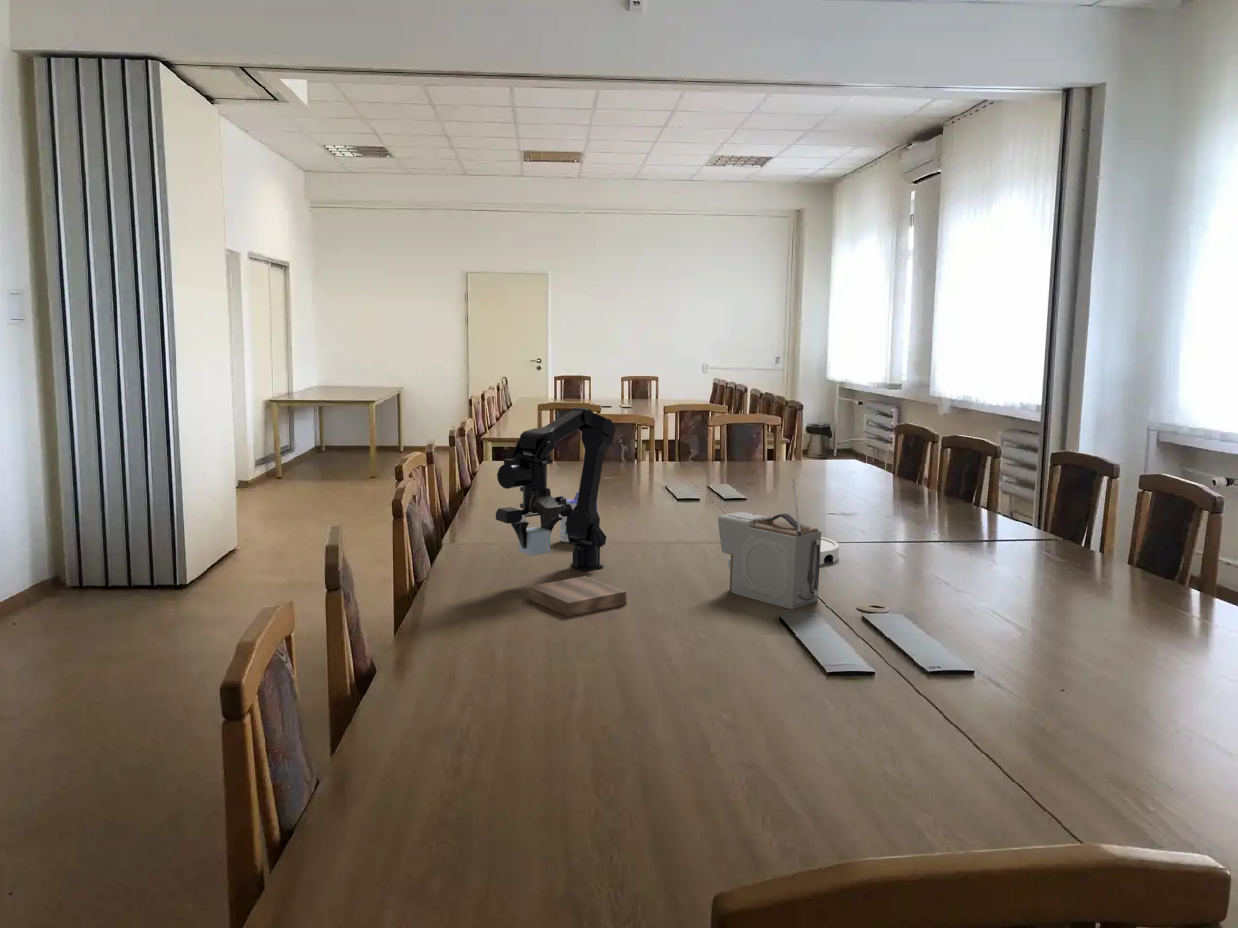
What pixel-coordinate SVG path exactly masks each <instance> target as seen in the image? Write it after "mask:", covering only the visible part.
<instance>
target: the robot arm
mask: <svg viewBox="0 0 1238 928" xmlns="http://www.w3.org/2000/svg"><path fill="white" fill-rule="evenodd" d="M576 430H578V431H579V432H581V435H580V436H581V437H580V439H581V442H582V445H583V447H584V457H583V463H582V464H583V465H582V470H581V477H580V482H579V483H580V484H579V488H578V489H579V490H578V493H579V494H578V496H577V497H578V500H577V505H576V506H575V507H574V509H572V507H571V505H570V504H568V503H566V500H567V498H566V497H565V496H564V495H559V496H556V497H555V496H554V497H552V494H551V489H550V488H549V487H548V465H551V464H553V462H554V461H553V459H551V458H550V457H549V455H550V454H551V452H553V451H554V450H555V448H556V446H557V443H558V442H559V441H561V440H562V439H564V438H565V437H567V436H569V435H570V434H572V433H573V432H575V431H576ZM615 433H616V425H615V424H614V423H613V421H612V420H611V419H610V418H606V417H605V416H602V415H601V414H597V413H595V412H594V411H592V410H591V409H590V408H586V407H574V408H571V409H570V411H568V412H567V413H565V414H564V415H561V416H560V417H558V418H556V419H555V420H554V421H551V422H550V423H548V424H546V425H545V426H542V427H535V428H531V429H528V430H525V431H522V432H521V434H520V436H519V439H518V440H517V443H516V445H515V447H514V449H513V451H512V453H511V456H510V458H504V459H503V464H502V465H501V466H500V467H499V469H498V471H497V474H496V477H497V482H498V484H499V485H500V486H501V487H502V488H503V489H507V490H508V489H509V490H510V489H513V488H519V491H520V492H522V503H519V508H520V509H518V508H515V507H512V506H507V507H498V508H497V510H496V512H495V520H496V521H498V522H501V523H504V524H510V525H511V526H512V528H513V530H514V532H515V534H516V536H517V539H518V542H519V541H520V543H521V546H522V548H523V549H526V544H527V532H526V528H528V526H529V525H530V522H528V521H526V518H529V517H536V516H539V518H540V527H541V528H544V529H547V530H550V536H551V534H552V531H553V529H554V527H555V526H556V524H557V523H558V522H559V521H560V520H562V518H561V516H563V517H565V516H567V520H566V523H565V526H566V533H567V536H568V540H569V542H568V543H569V544H573V550H572V563H570V564H569V565H570V567H572V568H575V569H578V570H581V571H584V572H585V571H591V570H595V569H601V568H604V565H603V564H601V548H602V547H603V546H605V545H606V542H607V536H606V534H605V533H604V532H603V530H602V529H601V528H600V524H601V523H600V522H601V519H600V515H599V513H598V509H597V510H596V502H597V501H598V497H599V496H598V494H599V489H600V482H601V477H602V476H601V475H602V471H603V470H602V469H603V464H604V456H605V453H606V451H607V450H608V449H609V448H610V447H611V445H612V443H613V440H614V436H615ZM597 503H598V502H597Z"/></svg>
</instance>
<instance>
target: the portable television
mask: <svg viewBox="0 0 1238 928" xmlns="http://www.w3.org/2000/svg"><path fill="white" fill-rule="evenodd" d="M791 481H792V486H793V493H794V494H793V495H794V504H795V514H796V515H795V516H796V520H795V519H794V517H792V516H791V515H790V514H788V513H785V512H784V513H780V514H776V515H774V516H773V517H771V516H767V515H761V514H756V513H751V512H745V511H736V512H731V513H726V514H722V515H721V514H720V515H719V516H718V518H717V523H718V524H717V525H718V534H719V539H720V546H721V548H720V549H721V551H722V553H724V554H727V555H730V559H728V560H727V563H728V569H730V571H729V572H730V574H729V592H731V593H732V594H734V595H739V596H741V597H745V598H750V599H753V600H757V601H758V602H759V601H760V602H764V603H767V604H771V605H774V606H778V607H782V608H786V609H790V610H795V609H798V608H801V607H804V606H807V605H809V604H813V603H816V602H818V601H819V581H820V568H821V567H820V566H821V565H820V547H821V537H822V531H821V530H819V528H815V527H811V526H807V525H804V524H801V523H800V518H799V517H800V516H799V512H798V511H799V509H798V502H797V496H796V487H795V478H792V479H791ZM780 518H782V519H784V520H785V521H786V522H784V521H779V520H777V519H780Z"/></svg>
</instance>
